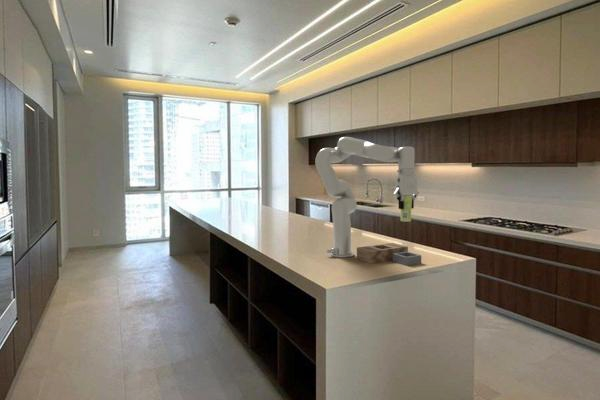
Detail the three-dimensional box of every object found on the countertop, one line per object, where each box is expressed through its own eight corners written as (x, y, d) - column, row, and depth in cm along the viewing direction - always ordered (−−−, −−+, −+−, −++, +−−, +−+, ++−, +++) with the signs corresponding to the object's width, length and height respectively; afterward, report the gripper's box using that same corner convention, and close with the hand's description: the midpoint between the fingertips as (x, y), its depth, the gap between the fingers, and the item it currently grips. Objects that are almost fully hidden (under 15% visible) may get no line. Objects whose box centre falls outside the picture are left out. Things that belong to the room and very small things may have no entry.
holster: (406, 265, 182) (406, 257, 182) (392, 261, 191) (392, 253, 191) (421, 263, 186) (421, 255, 186) (406, 259, 195) (406, 251, 195)
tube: (404, 220, 191) (404, 181, 190) (413, 221, 188) (413, 181, 186) (398, 221, 187) (398, 182, 185) (408, 222, 184) (408, 182, 182)
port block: (370, 263, 188) (370, 251, 187) (356, 258, 198) (356, 247, 198) (407, 257, 198) (407, 246, 197) (392, 253, 209) (392, 242, 208)
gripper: (397, 172, 178) (397, 210, 180) (425, 171, 186) (424, 208, 187) (387, 172, 185) (387, 209, 186) (414, 171, 192) (414, 207, 194)
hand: (406, 208), depth 187 cm, fingers closed on tube, 5 cm apart
